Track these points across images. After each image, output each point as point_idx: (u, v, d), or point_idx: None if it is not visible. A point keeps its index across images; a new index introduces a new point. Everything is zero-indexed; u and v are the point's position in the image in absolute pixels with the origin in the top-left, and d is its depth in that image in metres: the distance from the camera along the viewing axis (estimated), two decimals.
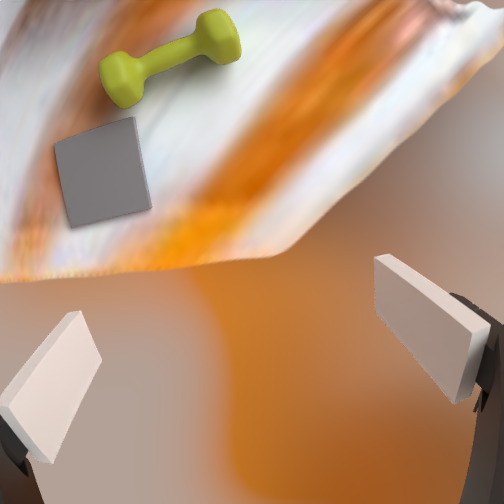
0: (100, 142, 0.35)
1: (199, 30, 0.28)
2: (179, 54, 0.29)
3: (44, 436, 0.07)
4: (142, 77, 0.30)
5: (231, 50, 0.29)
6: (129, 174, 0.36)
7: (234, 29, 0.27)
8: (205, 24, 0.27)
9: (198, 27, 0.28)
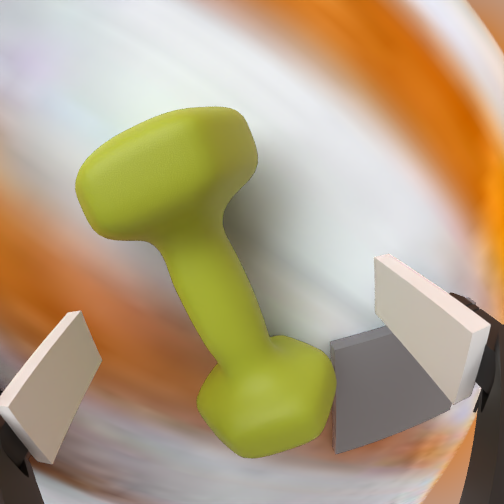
0: (362, 394, 0.20)
1: (156, 235, 0.11)
2: (230, 281, 0.13)
3: (44, 436, 0.07)
4: (281, 360, 0.14)
5: (231, 132, 0.10)
6: None
7: (161, 121, 0.09)
8: (138, 220, 0.09)
9: (143, 237, 0.11)
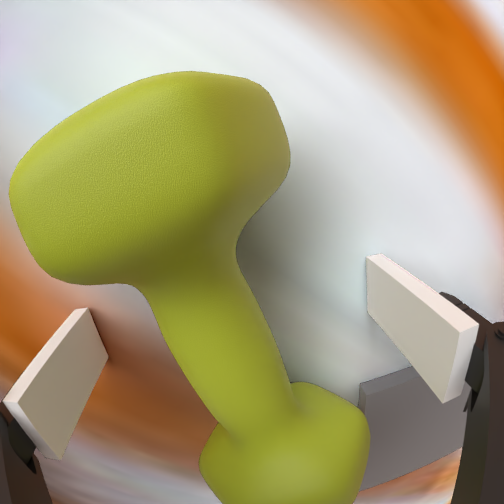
0: (390, 436, 0.16)
1: (132, 280, 0.07)
2: (246, 340, 0.08)
3: (52, 432, 0.07)
4: (308, 427, 0.10)
5: (256, 112, 0.06)
6: None
7: (133, 87, 0.05)
8: (95, 263, 0.05)
9: (113, 282, 0.07)
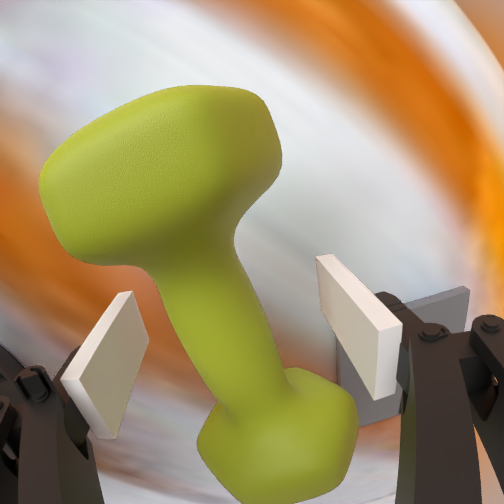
0: None
1: (144, 260, 0.08)
2: (242, 318, 0.10)
3: (108, 410, 0.08)
4: (299, 405, 0.11)
5: (252, 120, 0.07)
6: None
7: (150, 99, 0.06)
8: (116, 243, 0.06)
9: (127, 263, 0.08)
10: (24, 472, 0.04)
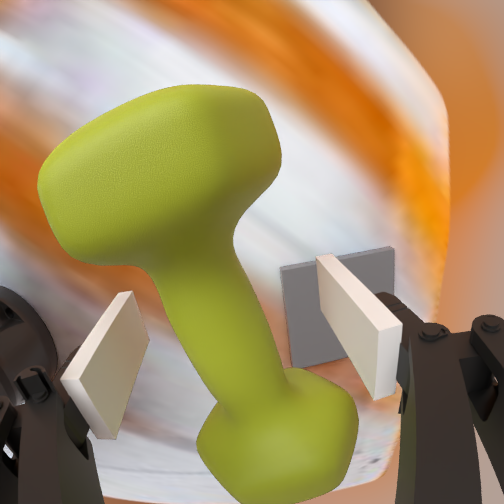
0: (306, 312, 0.31)
1: (143, 261, 0.08)
2: (241, 318, 0.10)
3: (108, 410, 0.08)
4: (299, 405, 0.11)
5: (251, 119, 0.07)
6: None
7: (149, 99, 0.06)
8: (114, 243, 0.06)
9: (126, 263, 0.08)
10: (24, 472, 0.04)
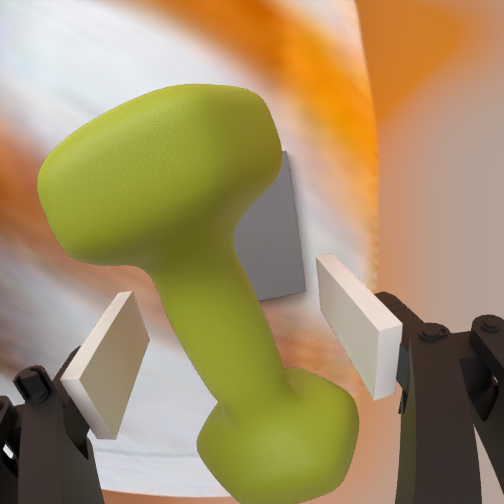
0: None
1: (143, 261, 0.08)
2: (241, 319, 0.10)
3: (108, 410, 0.08)
4: (299, 406, 0.11)
5: (252, 118, 0.07)
6: None
7: (149, 98, 0.06)
8: (114, 244, 0.06)
9: (126, 263, 0.08)
10: (24, 472, 0.04)
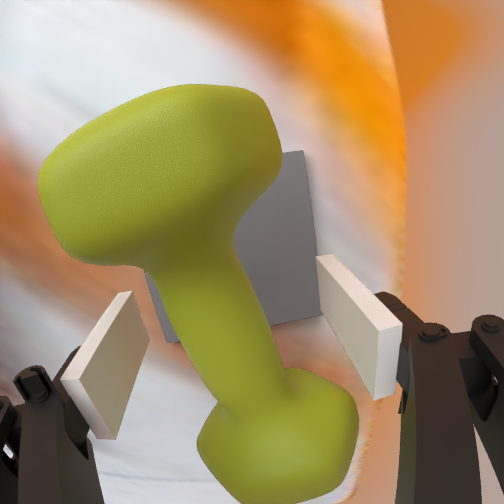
0: None
1: (144, 261, 0.08)
2: (242, 318, 0.10)
3: (108, 410, 0.08)
4: (299, 406, 0.11)
5: (251, 119, 0.07)
6: None
7: (149, 98, 0.06)
8: (115, 243, 0.06)
9: (126, 263, 0.08)
10: (24, 472, 0.04)
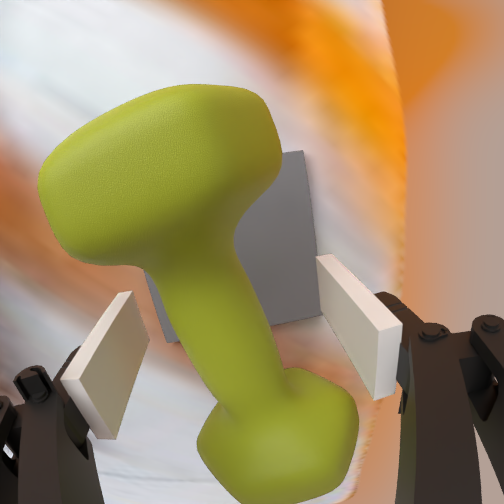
0: None
1: (144, 261, 0.08)
2: (242, 318, 0.10)
3: (108, 410, 0.08)
4: (299, 406, 0.11)
5: (251, 119, 0.07)
6: None
7: (149, 98, 0.06)
8: (115, 243, 0.06)
9: (126, 263, 0.08)
10: (24, 472, 0.04)
